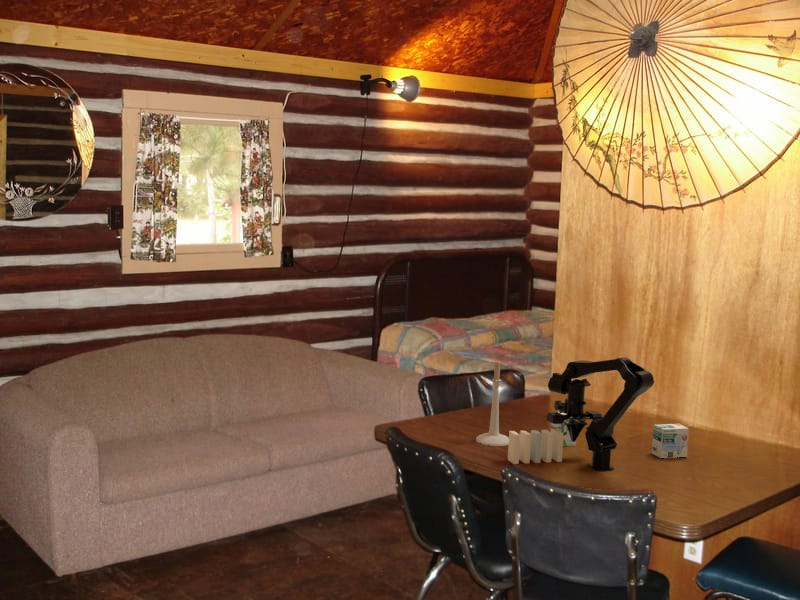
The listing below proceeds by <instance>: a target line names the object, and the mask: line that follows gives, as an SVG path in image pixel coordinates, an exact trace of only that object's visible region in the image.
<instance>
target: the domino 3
mask: <svg viewBox="0 0 800 600" xmlns="http://www.w3.org/2000/svg"><path fill="white" fill-rule="evenodd" d="M541 433H542V432H540V431H538V430H537V429H532V430H530V434H531V445H530V461H532V462H533V463H535V464H541V460H542V459H541V441H542V434H541Z"/></svg>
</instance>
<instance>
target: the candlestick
mask: <svg viewBox="0 0 800 600" xmlns="http://www.w3.org/2000/svg"><path fill="white" fill-rule="evenodd" d="M500 374H501V361H499V360H496V361H494V371H493V379H491V381H492V385H493V390H492V391H493V392H492V400H491V410H490V418H489V429H488V432H485V433H482V434H479V435H477V437H476V438H475V441H476V443H478V444H480V443H481V444H480V445H484V446H488V445H489V447H505V446H509V436H507V435H504V434H501V433H500V428H499V427H500V419H499V417H500V416H499V415H500V413H499V412H500V411H499V410H500V407H499V406H500V404H499V402H500V400H499V399H500V396H499V395H500V389H499V386H500V385H501V382H502V379H500Z"/></svg>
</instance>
